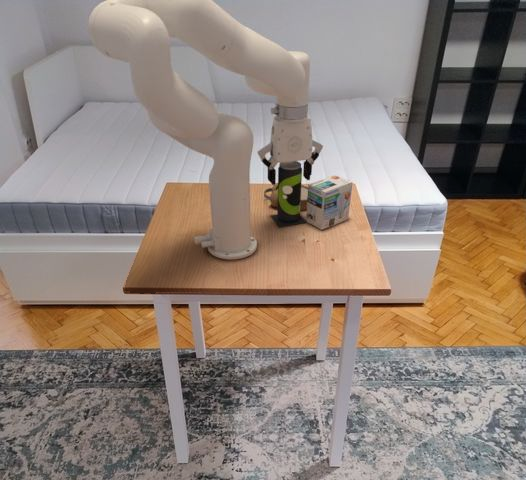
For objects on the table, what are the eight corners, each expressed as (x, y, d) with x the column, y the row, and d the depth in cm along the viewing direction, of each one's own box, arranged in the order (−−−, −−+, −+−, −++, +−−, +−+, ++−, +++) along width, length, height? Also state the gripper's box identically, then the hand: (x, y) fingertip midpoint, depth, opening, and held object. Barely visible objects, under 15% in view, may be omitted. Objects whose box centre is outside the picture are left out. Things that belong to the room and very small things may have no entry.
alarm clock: (315, 202, 140) (263, 191, 140) (311, 218, 143) (260, 207, 143) (316, 186, 149) (267, 175, 148) (312, 201, 152) (264, 191, 151)
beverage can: (287, 211, 142) (288, 158, 132) (304, 217, 139) (307, 164, 129) (272, 218, 139) (273, 164, 129) (289, 225, 136) (291, 170, 126)
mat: (279, 227, 135) (279, 226, 135) (270, 216, 140) (270, 215, 140) (306, 223, 137) (306, 222, 137) (297, 212, 142) (297, 211, 142)
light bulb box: (321, 230, 134) (325, 192, 127) (304, 221, 138) (306, 184, 131) (349, 219, 139) (353, 181, 132) (332, 210, 143) (335, 173, 136)
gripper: (262, 119, 116) (262, 190, 127) (331, 112, 120) (325, 181, 131) (253, 110, 121) (254, 179, 132) (318, 103, 125) (314, 171, 136)
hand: (289, 180), depth 132 cm, fingers open, 9 cm apart
